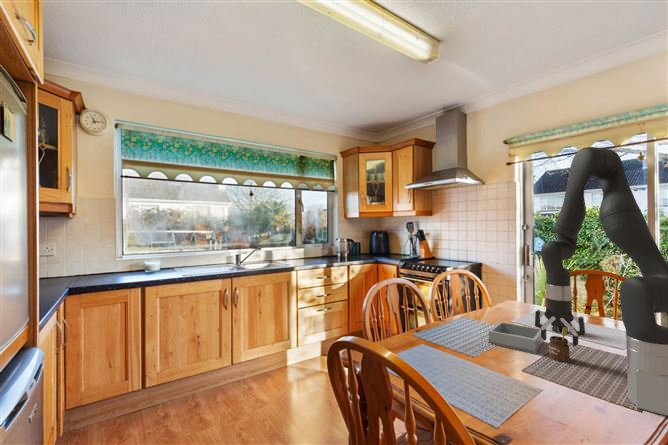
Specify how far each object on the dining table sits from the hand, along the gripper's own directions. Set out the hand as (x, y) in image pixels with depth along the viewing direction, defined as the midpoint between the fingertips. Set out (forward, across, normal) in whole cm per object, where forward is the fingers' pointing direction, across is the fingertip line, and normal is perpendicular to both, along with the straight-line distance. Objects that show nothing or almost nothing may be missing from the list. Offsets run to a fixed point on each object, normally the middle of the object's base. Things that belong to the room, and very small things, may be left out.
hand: (559, 342), depth 110 cm
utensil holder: (+6, 0, -1) cm, 6 cm away
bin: (+6, -15, +6) cm, 17 cm away
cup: (+6, -4, +33) cm, 34 cm away
